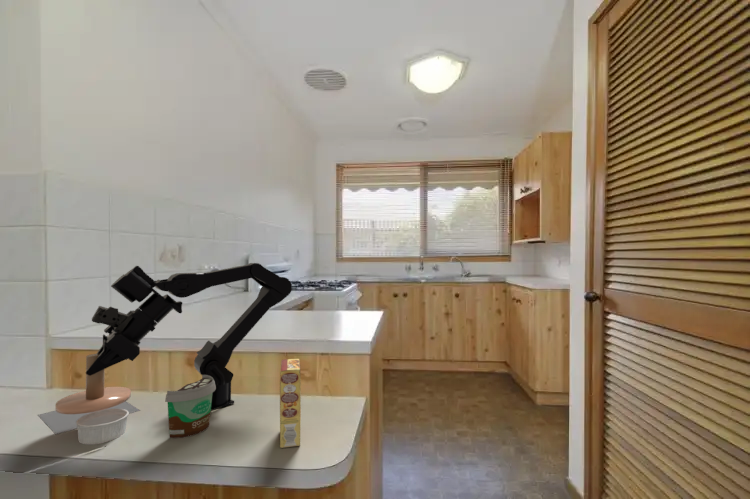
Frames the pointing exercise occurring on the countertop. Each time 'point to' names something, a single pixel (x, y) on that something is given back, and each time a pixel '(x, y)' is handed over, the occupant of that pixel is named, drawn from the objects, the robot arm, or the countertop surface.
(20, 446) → the countertop surface
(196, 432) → the food container
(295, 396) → the candy box
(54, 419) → the mat
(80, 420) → the ramekin
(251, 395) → the countertop surface
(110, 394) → the lid
